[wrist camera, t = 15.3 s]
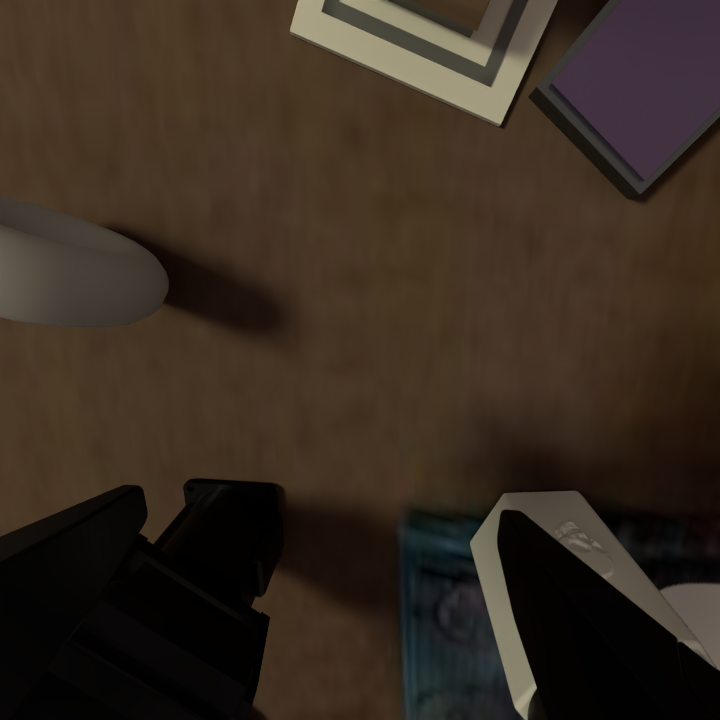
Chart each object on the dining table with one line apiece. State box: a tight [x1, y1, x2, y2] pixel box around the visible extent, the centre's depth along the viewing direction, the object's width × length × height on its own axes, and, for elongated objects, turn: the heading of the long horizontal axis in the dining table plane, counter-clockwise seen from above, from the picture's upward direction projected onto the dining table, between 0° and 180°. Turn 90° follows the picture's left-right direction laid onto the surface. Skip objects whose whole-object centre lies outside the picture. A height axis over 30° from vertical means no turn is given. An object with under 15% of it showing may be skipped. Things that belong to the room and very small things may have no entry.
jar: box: [470, 491, 720, 720], centre depth 18 cm, size 9×8×12 cm
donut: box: [0, 195, 169, 327], centre depth 16 cm, size 10×3×10 cm, turn 67°
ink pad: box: [529, 0, 720, 198], centre depth 15 cm, size 7×7×1 cm
